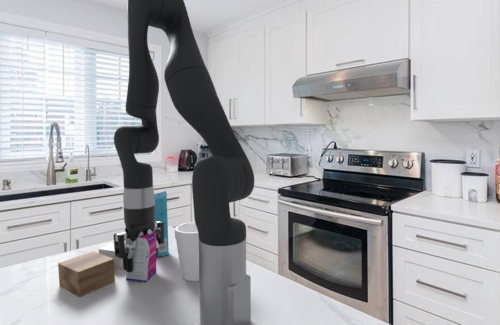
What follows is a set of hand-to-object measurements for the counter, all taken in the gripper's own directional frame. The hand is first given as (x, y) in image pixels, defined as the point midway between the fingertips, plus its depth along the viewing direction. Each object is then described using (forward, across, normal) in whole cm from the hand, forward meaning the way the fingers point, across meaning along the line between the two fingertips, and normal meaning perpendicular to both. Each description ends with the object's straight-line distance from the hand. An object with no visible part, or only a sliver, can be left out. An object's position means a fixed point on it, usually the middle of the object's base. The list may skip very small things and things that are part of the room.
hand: (141, 266), depth 83 cm
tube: (+3, +13, +8) cm, 16 cm away
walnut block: (+3, -10, +8) cm, 13 cm away
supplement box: (+3, 0, 0) cm, 3 cm away
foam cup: (+3, +8, -11) cm, 14 cm away
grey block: (+3, +2, +13) cm, 13 cm away
